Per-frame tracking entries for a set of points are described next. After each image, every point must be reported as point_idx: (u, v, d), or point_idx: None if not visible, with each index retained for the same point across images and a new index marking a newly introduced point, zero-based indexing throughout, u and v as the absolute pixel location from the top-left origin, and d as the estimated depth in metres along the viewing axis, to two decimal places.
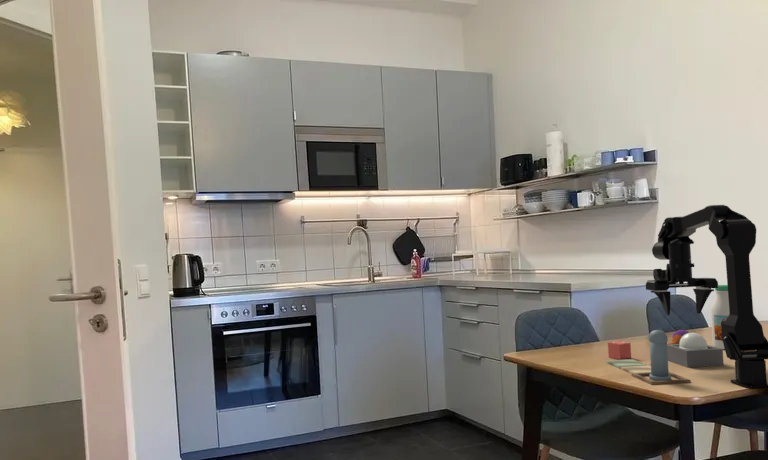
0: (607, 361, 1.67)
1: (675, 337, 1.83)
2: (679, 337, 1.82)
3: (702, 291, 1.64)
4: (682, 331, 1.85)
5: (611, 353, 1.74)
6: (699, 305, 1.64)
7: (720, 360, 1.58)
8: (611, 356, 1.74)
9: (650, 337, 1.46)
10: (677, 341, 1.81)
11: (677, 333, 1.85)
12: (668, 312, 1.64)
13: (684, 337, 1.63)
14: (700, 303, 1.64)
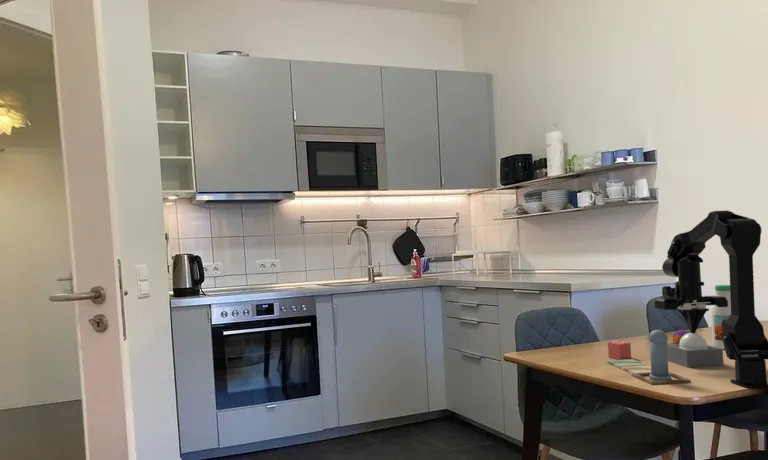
0: (607, 361, 1.67)
1: (675, 337, 1.83)
2: (679, 337, 1.82)
3: (697, 310, 1.62)
4: (682, 331, 1.85)
5: (611, 353, 1.74)
6: None
7: (720, 360, 1.58)
8: (611, 356, 1.74)
9: (650, 337, 1.46)
10: (677, 341, 1.81)
11: (677, 333, 1.85)
12: (692, 330, 1.62)
13: (684, 337, 1.63)
14: (695, 323, 1.62)
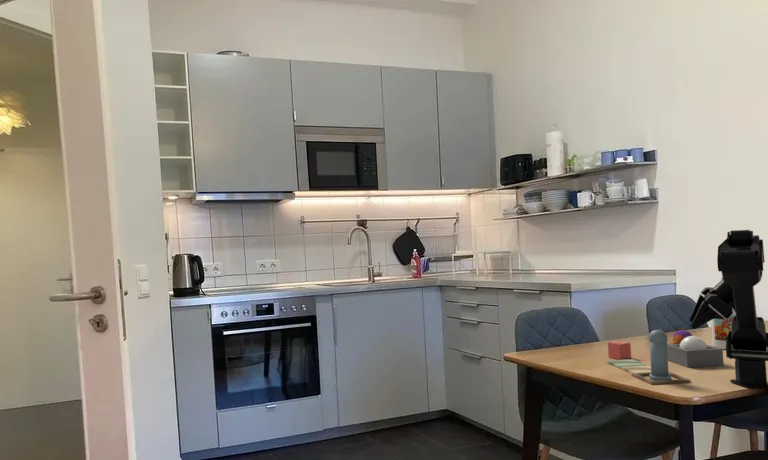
0: (607, 361, 1.67)
1: (675, 337, 1.83)
2: (679, 337, 1.82)
3: None
4: (683, 331, 1.84)
5: (611, 353, 1.74)
6: None
7: (720, 360, 1.58)
8: (611, 356, 1.74)
9: (650, 337, 1.46)
10: (677, 341, 1.81)
11: (678, 333, 1.85)
12: None
13: (684, 340, 1.63)
14: None
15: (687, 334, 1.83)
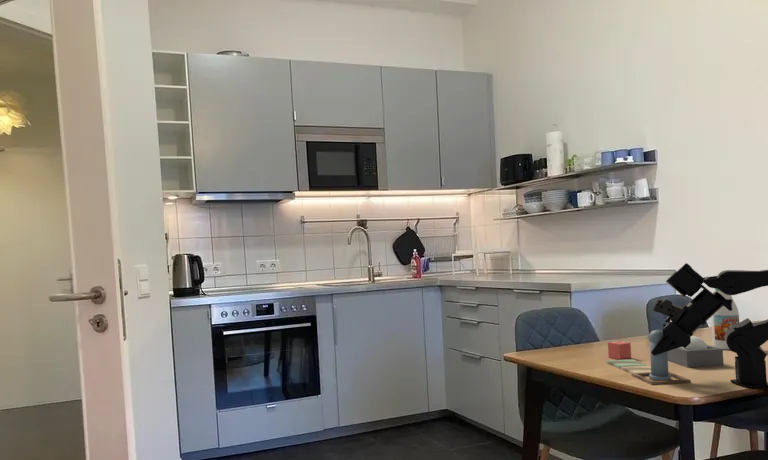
0: (607, 361, 1.67)
1: None
2: None
3: None
4: None
5: (611, 353, 1.74)
6: None
7: (720, 360, 1.58)
8: (611, 356, 1.74)
9: (650, 337, 1.46)
10: None
11: None
12: (657, 354, 1.44)
13: None
14: None
15: None
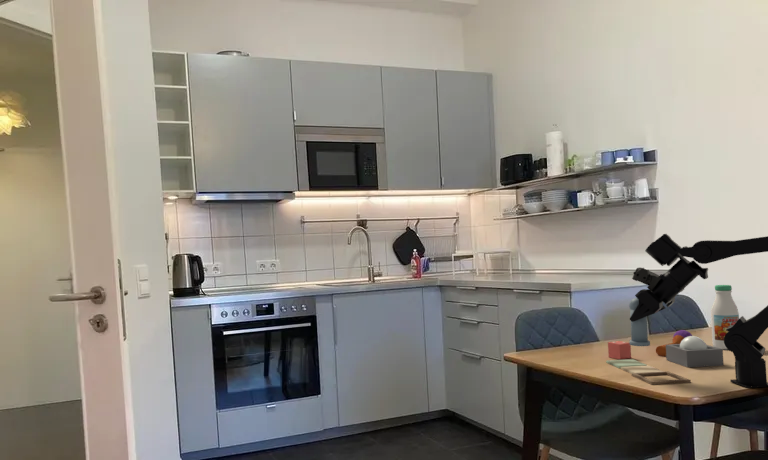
0: (607, 361, 1.67)
1: (675, 337, 1.83)
2: (679, 337, 1.82)
3: None
4: (682, 331, 1.84)
5: (611, 353, 1.74)
6: None
7: (720, 360, 1.58)
8: (611, 356, 1.74)
9: (630, 304, 1.53)
10: (677, 341, 1.81)
11: (677, 333, 1.84)
12: (635, 320, 1.51)
13: (684, 340, 1.63)
14: None
15: (687, 334, 1.83)
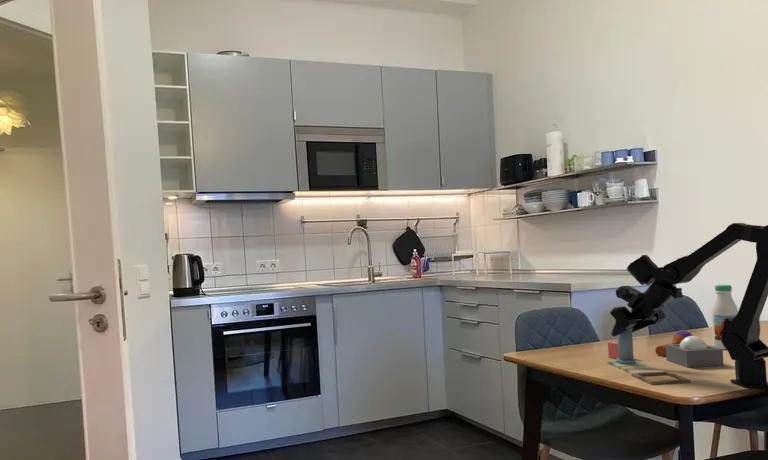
0: (607, 361, 1.67)
1: (675, 337, 1.82)
2: (679, 338, 1.82)
3: (646, 322, 1.63)
4: (683, 331, 1.84)
5: (611, 353, 1.74)
6: (634, 329, 1.65)
7: (720, 360, 1.58)
8: (611, 356, 1.74)
9: None
10: (677, 342, 1.80)
11: (678, 334, 1.84)
12: (615, 335, 1.62)
13: (684, 340, 1.63)
14: (636, 328, 1.65)
15: (687, 334, 1.83)
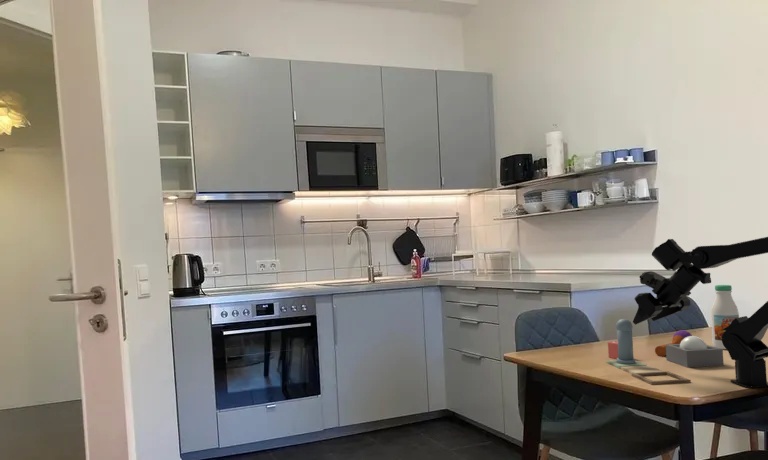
0: (607, 361, 1.67)
1: (675, 338, 1.82)
2: (679, 338, 1.82)
3: (673, 309, 1.57)
4: (682, 332, 1.84)
5: (611, 353, 1.74)
6: (659, 316, 1.60)
7: (720, 360, 1.58)
8: (611, 356, 1.74)
9: (616, 325, 1.65)
10: (676, 342, 1.80)
11: (677, 334, 1.84)
12: (637, 323, 1.55)
13: (684, 340, 1.63)
14: (662, 315, 1.59)
15: (687, 334, 1.83)
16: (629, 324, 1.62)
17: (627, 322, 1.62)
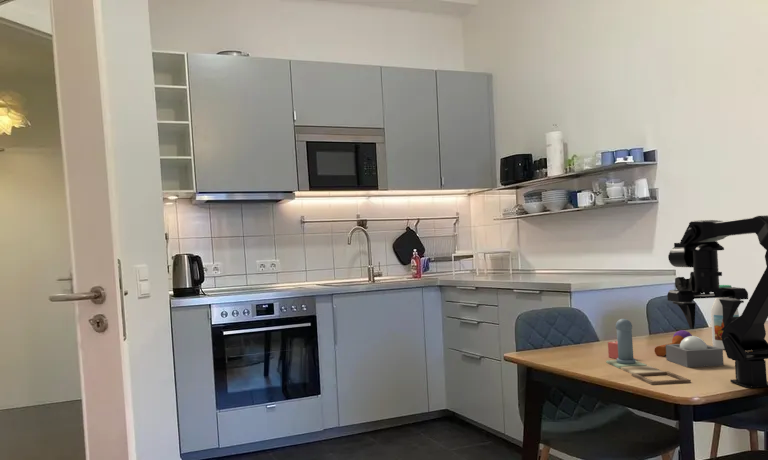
0: (607, 361, 1.67)
1: (674, 338, 1.82)
2: (678, 338, 1.81)
3: (730, 302, 1.48)
4: (682, 332, 1.84)
5: (611, 353, 1.74)
6: (727, 318, 1.49)
7: (720, 360, 1.58)
8: (611, 356, 1.74)
9: None
10: (676, 342, 1.80)
11: (677, 334, 1.84)
12: (692, 326, 1.48)
13: (684, 340, 1.63)
14: (728, 316, 1.48)
15: (687, 334, 1.83)
16: (629, 324, 1.62)
17: (627, 322, 1.62)
